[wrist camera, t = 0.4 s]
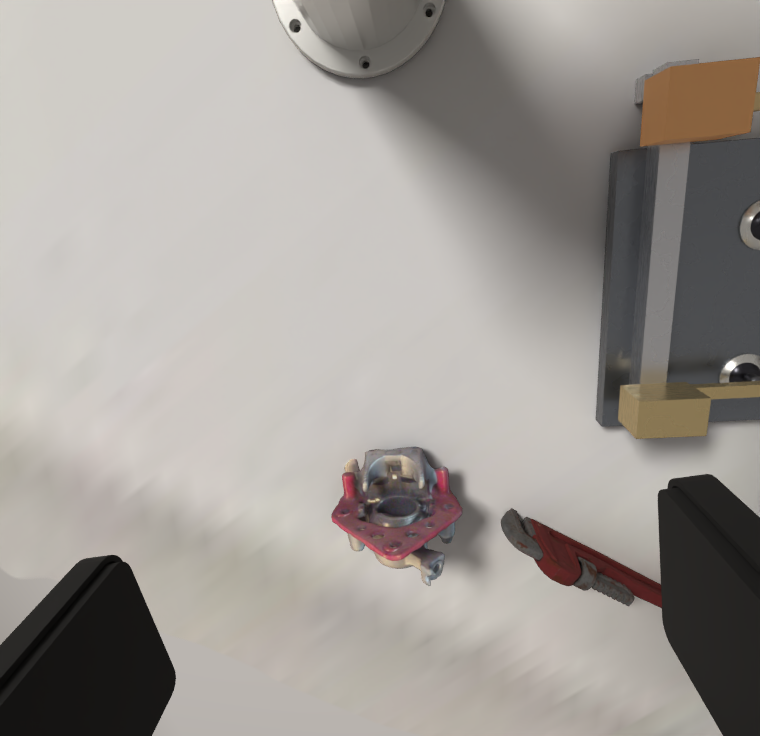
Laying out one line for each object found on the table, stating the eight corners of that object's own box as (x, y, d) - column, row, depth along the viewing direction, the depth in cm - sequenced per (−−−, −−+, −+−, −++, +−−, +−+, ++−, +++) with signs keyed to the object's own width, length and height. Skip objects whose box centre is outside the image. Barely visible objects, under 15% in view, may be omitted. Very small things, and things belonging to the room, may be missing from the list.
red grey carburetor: (455, 424, 43) (471, 571, 36) (455, 474, 52) (468, 599, 45) (326, 433, 44) (317, 577, 37) (348, 480, 53) (344, 603, 46)
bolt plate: (615, 78, 36) (660, 50, 29) (852, 54, 35) (955, 18, 28) (595, 419, 44) (627, 456, 38) (786, 410, 43) (855, 448, 36)
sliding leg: (634, 86, 34) (670, 66, 29) (805, 68, 33) (871, 45, 28) (630, 149, 35) (664, 140, 31) (794, 134, 34) (856, 122, 30)
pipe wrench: (739, 638, 52) (490, 516, 48) (756, 622, 51) (504, 497, 48) (784, 698, 45) (503, 563, 42) (804, 681, 45) (519, 541, 41)
